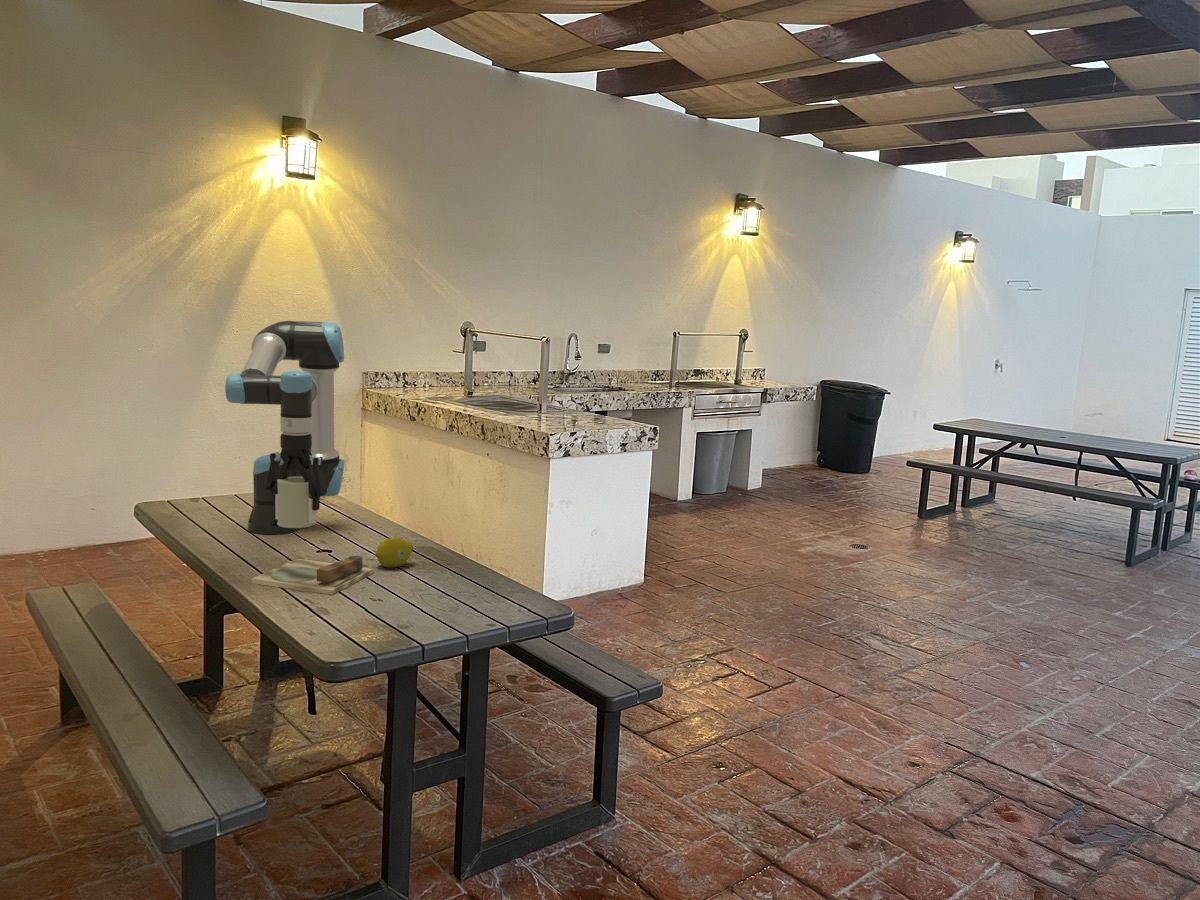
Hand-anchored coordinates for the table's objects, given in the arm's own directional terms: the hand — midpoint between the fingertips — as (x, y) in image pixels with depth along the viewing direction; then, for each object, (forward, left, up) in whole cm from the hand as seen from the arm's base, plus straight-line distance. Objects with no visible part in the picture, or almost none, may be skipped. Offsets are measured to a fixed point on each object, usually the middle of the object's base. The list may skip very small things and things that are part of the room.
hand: (296, 520), depth 235 cm
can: (0, 0, -1) cm, 1 cm away
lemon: (-21, +17, -16) cm, 31 cm away
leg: (-3, +11, -14) cm, 18 cm away
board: (-3, +3, -16) cm, 16 cm away
